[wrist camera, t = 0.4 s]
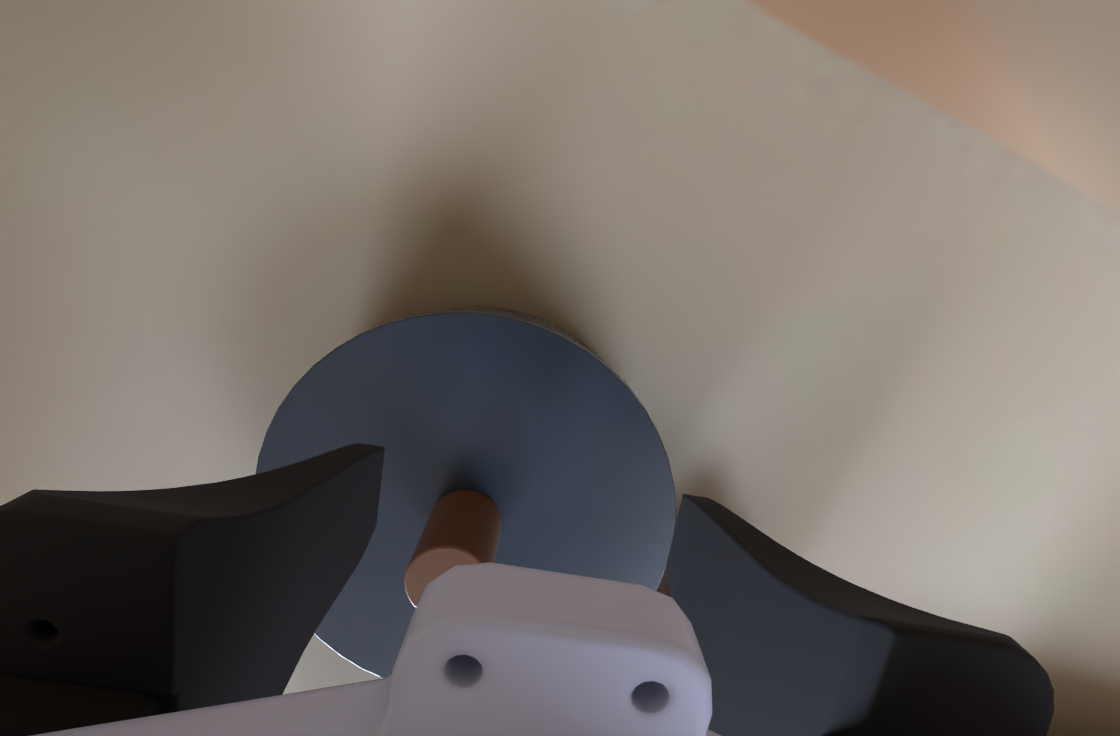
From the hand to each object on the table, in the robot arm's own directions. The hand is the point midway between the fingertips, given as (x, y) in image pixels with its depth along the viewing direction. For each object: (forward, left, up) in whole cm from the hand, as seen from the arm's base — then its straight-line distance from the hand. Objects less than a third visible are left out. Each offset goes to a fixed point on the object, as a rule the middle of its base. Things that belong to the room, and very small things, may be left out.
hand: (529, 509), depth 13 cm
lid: (-3, +2, -6) cm, 7 cm away
